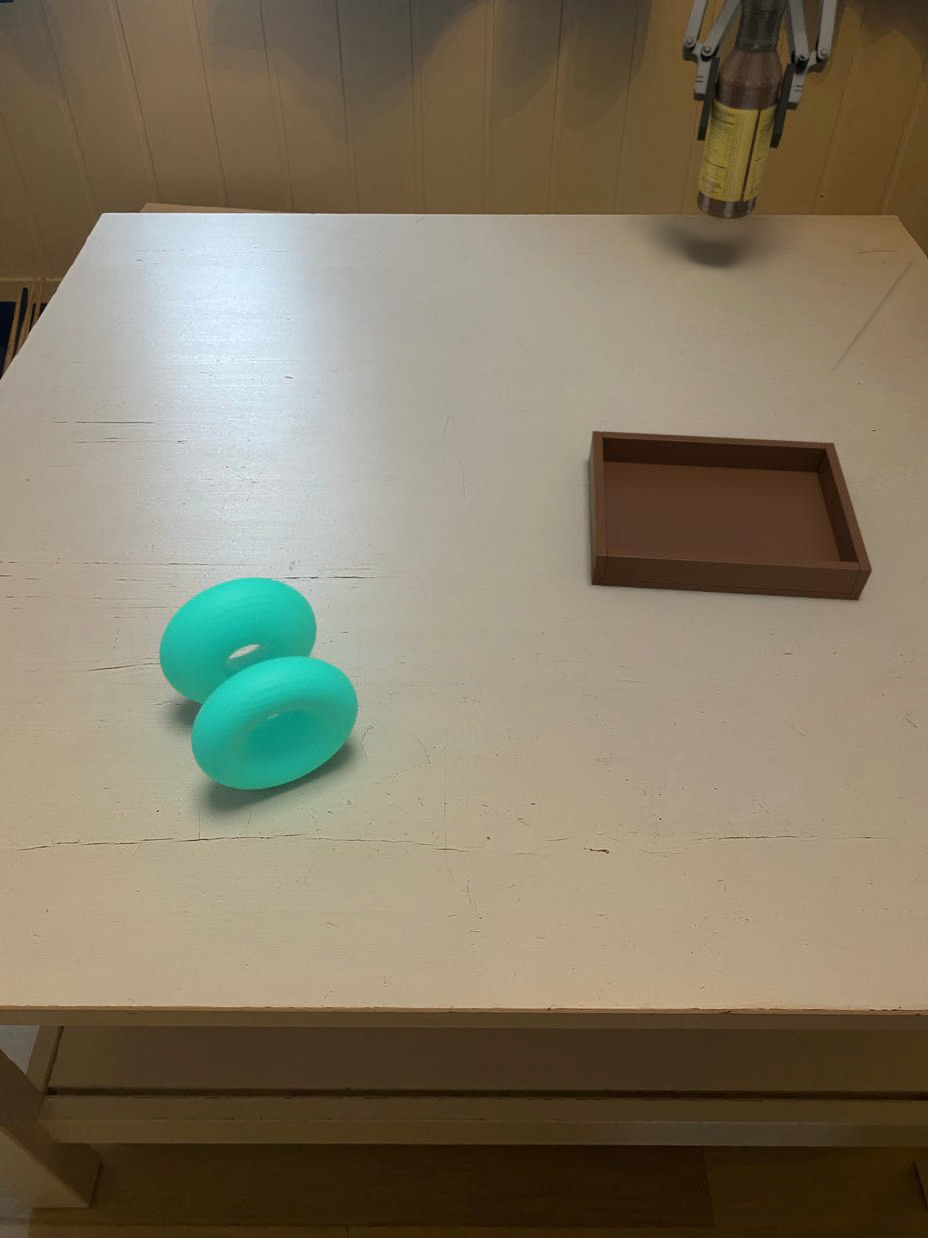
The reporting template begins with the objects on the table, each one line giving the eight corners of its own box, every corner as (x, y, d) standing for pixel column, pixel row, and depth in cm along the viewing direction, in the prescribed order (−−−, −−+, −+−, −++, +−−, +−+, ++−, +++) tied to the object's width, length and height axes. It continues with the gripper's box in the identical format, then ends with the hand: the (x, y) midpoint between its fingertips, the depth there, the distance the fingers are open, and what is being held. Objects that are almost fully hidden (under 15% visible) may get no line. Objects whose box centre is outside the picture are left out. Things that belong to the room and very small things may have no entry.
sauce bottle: (740, 192, 101) (790, -26, 86) (763, 219, 97) (820, -5, 82) (683, 196, 100) (724, -23, 85) (704, 224, 96) (751, -2, 81)
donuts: (314, 650, 66) (297, 547, 58) (370, 758, 60) (358, 660, 53) (173, 701, 63) (136, 599, 55) (218, 820, 57) (182, 725, 50)
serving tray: (822, 472, 79) (834, 442, 77) (858, 600, 70) (872, 570, 67) (588, 460, 80) (592, 430, 78) (591, 584, 70) (596, 555, 68)
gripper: (882, -80, 91) (833, 165, 92) (681, -93, 94) (637, 144, 95) (905, -138, 83) (851, 129, 85) (685, -150, 86) (638, 108, 88)
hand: (738, 137), depth 90 cm, fingers closed on sauce bottle, 6 cm apart
